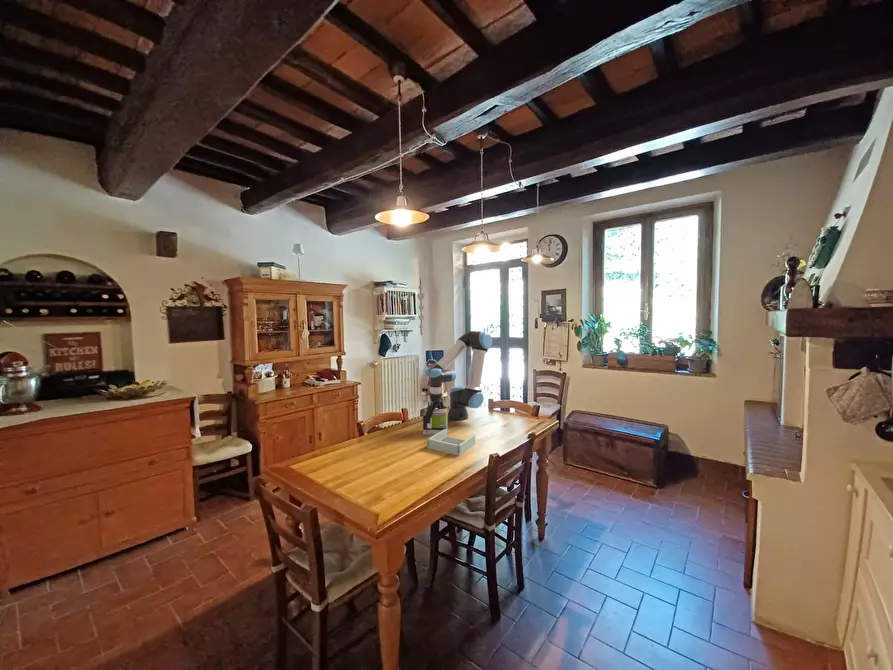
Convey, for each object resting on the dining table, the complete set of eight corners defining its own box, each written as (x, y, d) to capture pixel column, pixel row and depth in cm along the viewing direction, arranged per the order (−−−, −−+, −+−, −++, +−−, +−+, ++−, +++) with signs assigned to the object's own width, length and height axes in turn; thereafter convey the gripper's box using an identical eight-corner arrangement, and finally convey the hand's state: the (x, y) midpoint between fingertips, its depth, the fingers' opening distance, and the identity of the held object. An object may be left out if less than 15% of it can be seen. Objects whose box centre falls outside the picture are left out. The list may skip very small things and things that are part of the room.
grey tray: (444, 437, 228) (445, 428, 228) (475, 444, 218) (475, 435, 217) (427, 448, 211) (427, 439, 211) (459, 455, 201) (459, 446, 200)
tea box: (447, 430, 241) (447, 408, 240) (446, 436, 231) (446, 413, 230) (425, 429, 242) (425, 408, 241) (422, 435, 232) (422, 412, 231)
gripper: (440, 388, 247) (440, 419, 249) (419, 396, 226) (419, 429, 227) (450, 389, 243) (449, 421, 245) (430, 397, 222) (429, 431, 223)
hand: (435, 425), depth 236 cm, fingers open, 13 cm apart
